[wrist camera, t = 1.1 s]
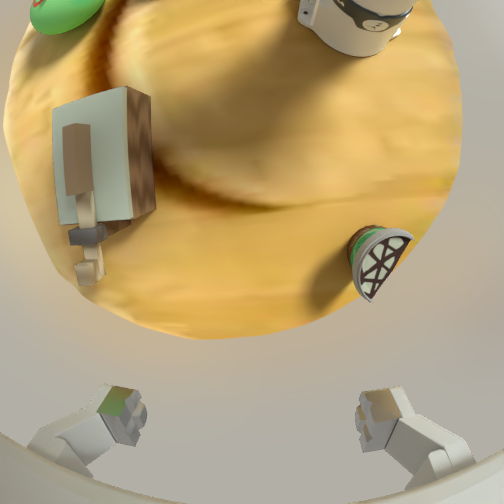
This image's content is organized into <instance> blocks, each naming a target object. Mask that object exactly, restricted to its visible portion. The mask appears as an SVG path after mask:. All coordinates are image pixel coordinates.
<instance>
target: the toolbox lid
mask: <svg viewBox="0 0 504 504" xmlns="http://www.w3.org/2000/svg"><path fill="white" fill-rule="evenodd" d="M52 142H53V165H54V179H55V189H56V198H57V206H58V214H59V221H60V225H65V224H76V223H79V221H78V214H77V207H76V199H75V195H78V194H82V193H86V192H90V191H93V194H94V203H95V211H96V219H97V222H99V221H111V220H125V219H131V218H133V208H132V198H131V188H130V175H129V161H128V141H127V88H126V87H124V86H122V87H118V88H114V89H111V90H107V91H104V92H100V93H97V94H94V95H91V96H88V97H85V98H82V99H79V100H76V101H73V102H70V103H68V104H65V105H62V106H60V107H57V108H54V109H53V114H52Z"/></svg>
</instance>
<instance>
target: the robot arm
mask: <svg viewBox="0 0 504 504" xmlns="http://www.w3.org/2000/svg"><path fill="white" fill-rule="evenodd" d="M417 1H418V0H300V4H299V10H298V17H297V19H298V21H299V22H300V23H301V24H302V25H304V26H306V27H308V28H310V29H312V30H313V31H314V32H315V33H316V34H317V35H318V36H319V37H320V38H321V39H322V40H323V41H324V42H325V43H326V44H328V45H329V46H330V47H332V48H334V49H335V50H337V51H339V52H342V53H344V54H348V55H352V56H359V57H365V56H371V55H375V54H377V53H379V52H380V51H382V50H383V49H384V48H385V46H386V45H387V43H388V42H389V40H391V39H393V38H395V37H397V36H398V35H399V34H400V33H401V30H400V27H401V25H402V24H403V23H404V21H405V20H406V18H407V16H408V15H409V14H410V12H411V10H412V8H413V5H414V4H415V3H416V2H417ZM304 13H307V14H304ZM140 399H141V395H140V393H139V391H138V390H134V389H128V388H124V387H119V386H113V385H108V384H103V385H101V387H100V388H99V390H98V391H97V393H96V394H95V396H94V397H93V398H92V400H91V401H90V403H89V404H88V406H87V407H86V409H80V410H78V411H76V412H74V413H72V414H70V415H68V416H66V417H63V418H61V419H59V420H57V421H55V422H53V423H51V424H49V425H46V426H44V427H42V428H40V429H39V430H38V432H37V433H36V435H35V436H34V437H33V439H32V440H31V442H30V443H29V444H28V446H27V447H26V448H25V447H24V446H22V445H20V444H18V443H17V442H15V441H13V440H12V439H10V438H9V437H7V436H5V435H4V434H2V433H1V432H0V504H185V503H179V502H174V501H169V500H164V499H159V498H155V497H150V496H146V495H142V494H138V493H134V492H131V491H128V490H124V489H121V488H118V487H115V486H111V485H108V484H105V483H102V482H100V481H97V480H94V479H92V478H93V475H92V473H91V472H90V471H89V470H88V469H87V468H86V466H87V465H88V464H89V463H91V462H92V461H94V460H95V459H96V458H98V457H99V456H100V455H102V454H103V453H104V452H106V451H107V450H109V449H110V448H111V447H112V446H114V445H115V444H116V443H120V444H125V445H130V446H134V447H135V446H136V443H137V441H138V439H139V437H140V432H139V429H141V428H142V427H144V425H145V423H146V419H147V410H146V407H145V405H144V404H143V403H142V402H141V401H140ZM359 401H360V405H359V406H358V407H357V409H356V413H355V423H356V428H357V431H359V432H360V433H361V436H360V439H359V440H360V443H361V447H362V451H363V453H364V452H370V451H376V450H382V449H385V451H386V452H387V453H388V454H390V455H391V456H392V457H393V458H394V459H395V460H397V461H398V462H399V463H400V464H401V465H402V466H403V467H405V468H406V469H407V470H408V471H409V472H410V473H412V474H413V475H414V476H413V478H412V479H411V481H410V482H409V483H408V484H407V486H406V487H405V491H403V492H399V493H395V494H391V495H387V496H383V497H379V498H375V499H370V500H366V501H360V502H355V503H349V504H504V449H502V450H500V451H499V452H497V453H495V454H493V455H491V456H489V457H488V458H486V459H484V460H482V461H480V462H478V463H476V461H475V459H474V457H473V455H472V453H471V452H470V450H469V448H468V446H467V444H466V442H465V440H464V439H462V438H461V437H458V436H457V435H455V434H453V433H451V432H450V431H448V430H446V429H444V428H442V427H441V426H439V425H437V424H435V423H434V422H432V421H430V420H429V419H427V418H425V417H423V416H422V415H420V414H417V415H416V414H415V413H414V411H413V408H412V406H411V405H410V402H409V400H408V398H407V397H406V395H405V392H404V390H403V388H402V387H401V386H394V387H389V388H383V389H378V390H371V391H365V392H362V393H361V394H360V397H359Z"/></svg>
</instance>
